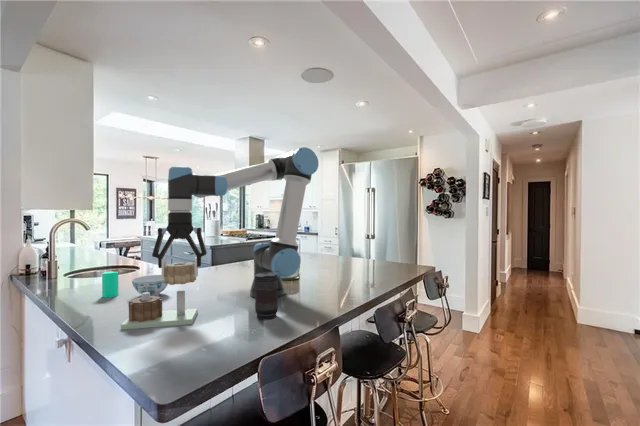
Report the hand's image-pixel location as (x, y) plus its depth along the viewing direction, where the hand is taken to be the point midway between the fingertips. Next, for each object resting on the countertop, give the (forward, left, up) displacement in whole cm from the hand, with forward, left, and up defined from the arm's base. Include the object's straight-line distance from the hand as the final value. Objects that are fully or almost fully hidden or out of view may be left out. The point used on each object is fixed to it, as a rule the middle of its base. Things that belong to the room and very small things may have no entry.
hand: (180, 276), depth 109 cm
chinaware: (+19, -37, -15) cm, 45 cm away
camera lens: (-29, +5, -15) cm, 33 cm away
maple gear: (0, 0, -2) cm, 2 cm away
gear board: (+6, 0, -15) cm, 16 cm away
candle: (+37, -41, -15) cm, 57 cm away
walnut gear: (+11, 0, -13) cm, 17 cm away
